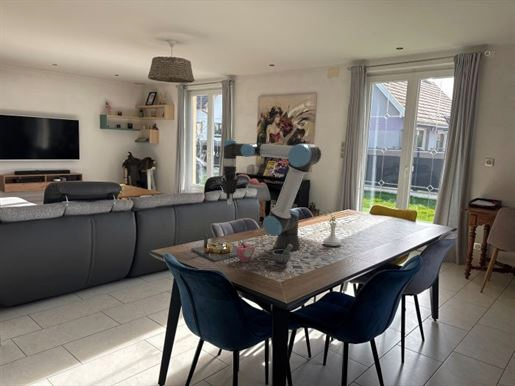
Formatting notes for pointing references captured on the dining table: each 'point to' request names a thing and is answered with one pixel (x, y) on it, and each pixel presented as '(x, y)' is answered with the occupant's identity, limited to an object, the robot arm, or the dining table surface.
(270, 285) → the dining table surface
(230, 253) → the gray square tray
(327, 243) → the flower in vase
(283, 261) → the mortar and pestle
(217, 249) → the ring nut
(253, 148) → the robot arm
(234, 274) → the dining table surface
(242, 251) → the red apple
